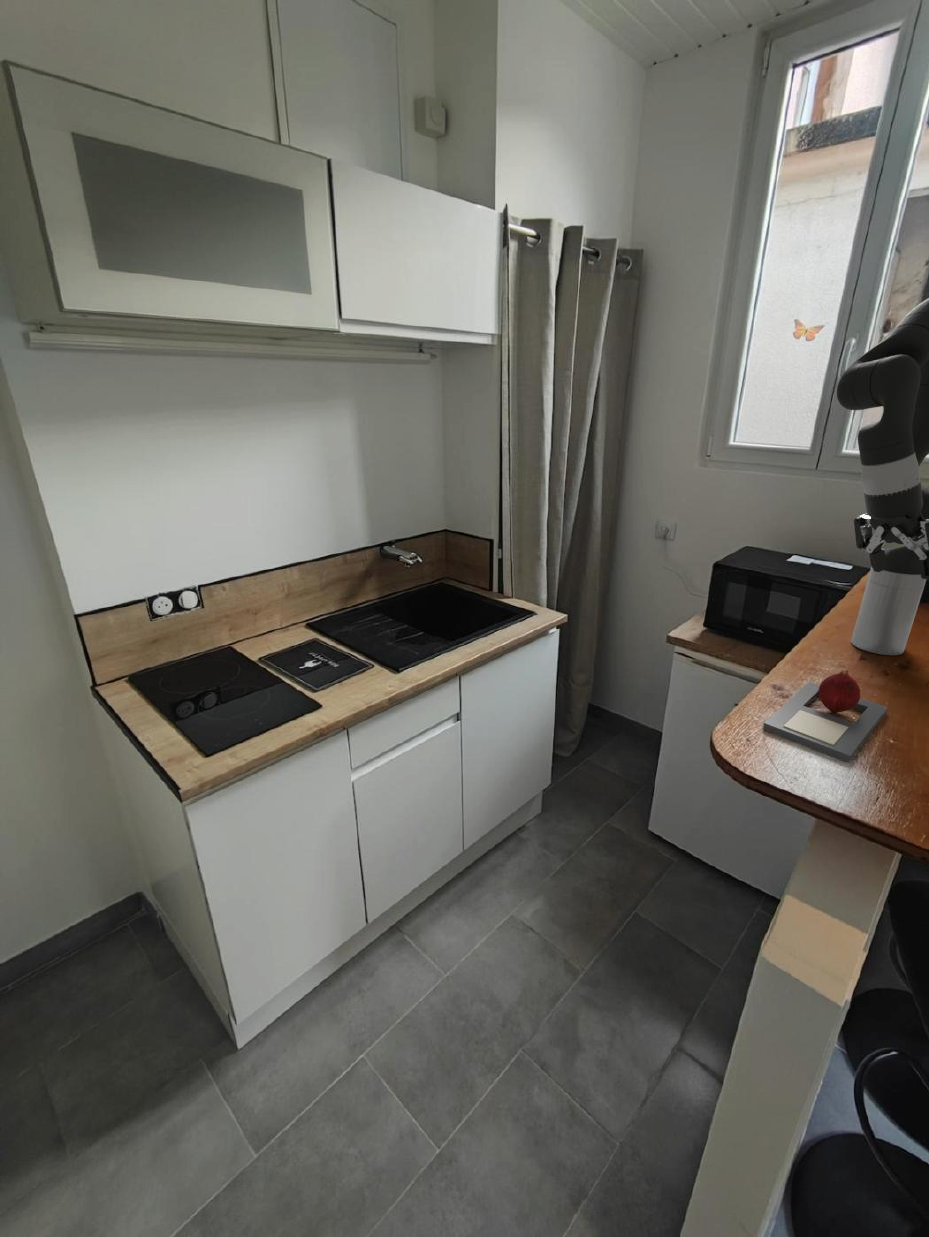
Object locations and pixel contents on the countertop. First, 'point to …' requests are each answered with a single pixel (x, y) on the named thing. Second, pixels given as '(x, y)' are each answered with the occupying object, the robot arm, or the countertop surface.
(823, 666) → the countertop surface
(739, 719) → the countertop surface
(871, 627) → the robot arm
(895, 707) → the countertop surface
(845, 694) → the onion
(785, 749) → the countertop surface
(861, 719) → the tray
